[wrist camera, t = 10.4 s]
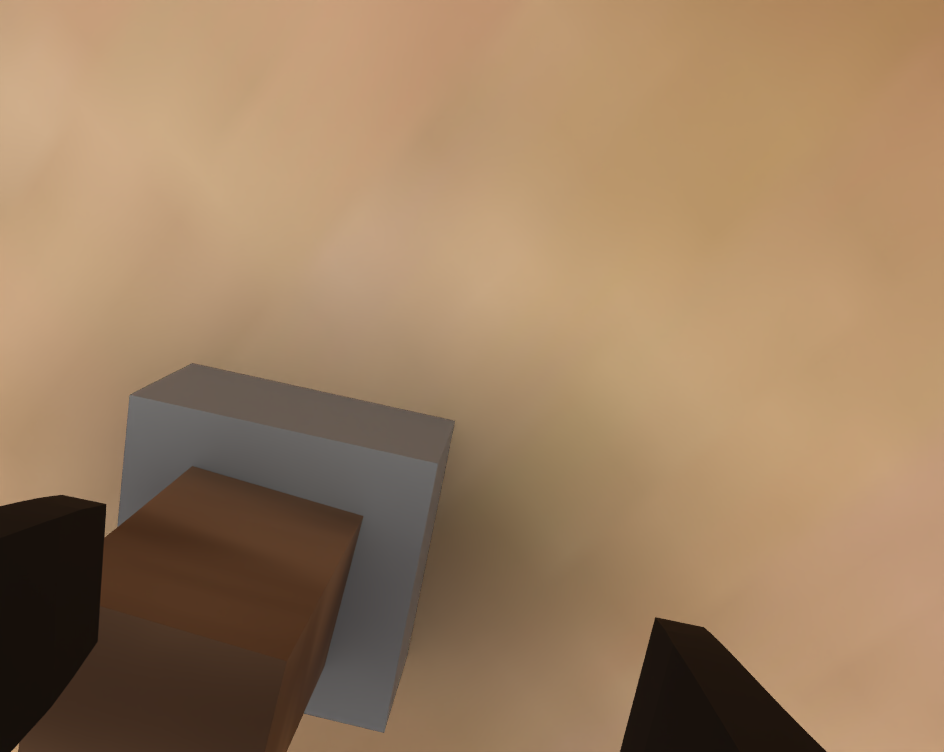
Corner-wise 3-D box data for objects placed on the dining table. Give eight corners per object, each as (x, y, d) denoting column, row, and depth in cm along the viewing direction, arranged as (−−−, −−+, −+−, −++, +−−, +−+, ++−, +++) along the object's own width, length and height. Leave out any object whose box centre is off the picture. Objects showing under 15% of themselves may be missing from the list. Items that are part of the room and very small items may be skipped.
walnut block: (324, 666, 19) (238, 860, 13) (162, 618, 19) (12, 793, 13) (363, 515, 18) (287, 661, 12) (192, 466, 18) (41, 588, 12)
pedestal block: (409, 649, 22) (383, 732, 19) (171, 593, 23) (104, 665, 19) (456, 417, 21) (437, 463, 17) (197, 360, 21) (129, 394, 17)
